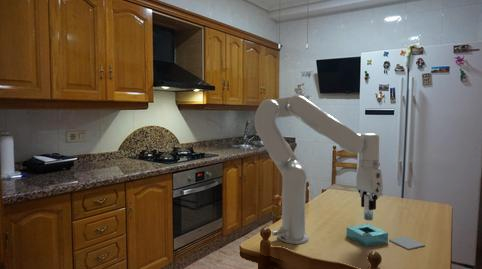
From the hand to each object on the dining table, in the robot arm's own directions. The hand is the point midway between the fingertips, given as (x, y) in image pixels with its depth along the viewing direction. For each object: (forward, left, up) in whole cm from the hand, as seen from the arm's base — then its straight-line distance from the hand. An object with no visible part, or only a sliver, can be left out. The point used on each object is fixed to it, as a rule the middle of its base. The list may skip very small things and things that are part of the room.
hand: (368, 207), depth 127 cm
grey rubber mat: (+12, -9, -13) cm, 20 cm away
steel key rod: (0, 0, -5) cm, 5 cm away
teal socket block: (0, 0, -13) cm, 13 cm away
